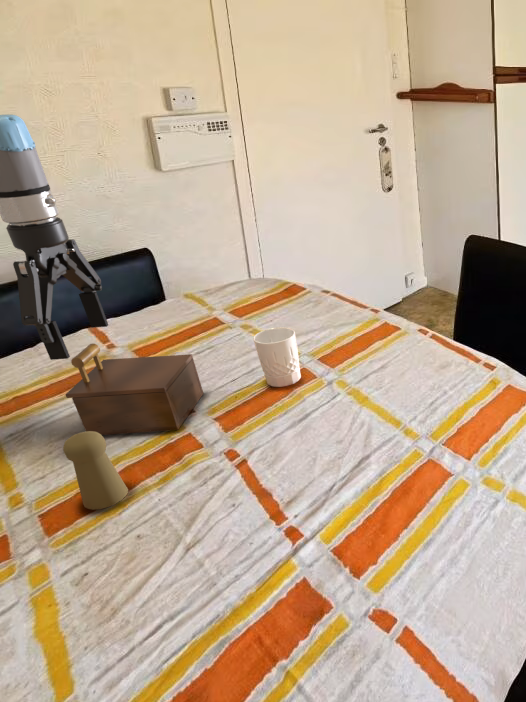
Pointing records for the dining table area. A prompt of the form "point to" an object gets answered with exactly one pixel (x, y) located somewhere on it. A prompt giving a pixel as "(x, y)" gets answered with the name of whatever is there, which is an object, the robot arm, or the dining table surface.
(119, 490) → the cork
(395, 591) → the dining table surface
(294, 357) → the white cup
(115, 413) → the chest
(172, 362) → the lid
